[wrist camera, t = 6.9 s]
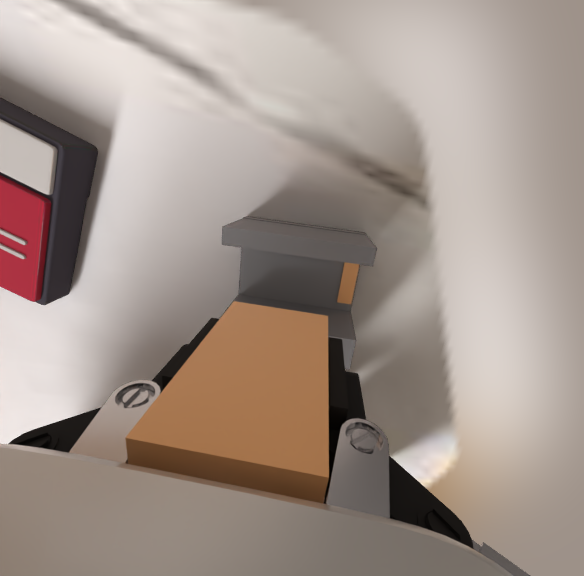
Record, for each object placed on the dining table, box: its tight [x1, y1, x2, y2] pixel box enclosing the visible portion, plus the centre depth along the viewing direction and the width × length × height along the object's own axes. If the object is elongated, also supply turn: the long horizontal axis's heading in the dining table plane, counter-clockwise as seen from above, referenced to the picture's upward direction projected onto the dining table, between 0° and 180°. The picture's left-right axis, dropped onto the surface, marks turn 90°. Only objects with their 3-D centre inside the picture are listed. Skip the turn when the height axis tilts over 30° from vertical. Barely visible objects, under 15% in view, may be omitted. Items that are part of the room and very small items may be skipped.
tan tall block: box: [125, 301, 329, 503], centre depth 9 cm, size 4×4×7 cm
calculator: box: [0, 98, 98, 305], centre depth 25 cm, size 11×4×15 cm
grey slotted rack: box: [219, 216, 377, 370], centre depth 24 cm, size 16×10×6 cm, turn 173°
